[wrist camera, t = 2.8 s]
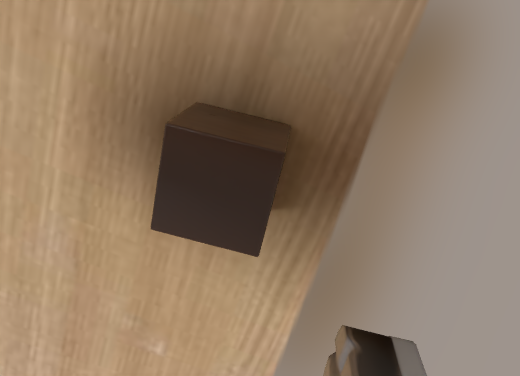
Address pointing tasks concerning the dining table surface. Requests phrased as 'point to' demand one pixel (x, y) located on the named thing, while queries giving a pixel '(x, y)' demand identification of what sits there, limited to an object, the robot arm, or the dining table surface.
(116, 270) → the dining table surface
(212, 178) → the block
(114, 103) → the dining table surface
